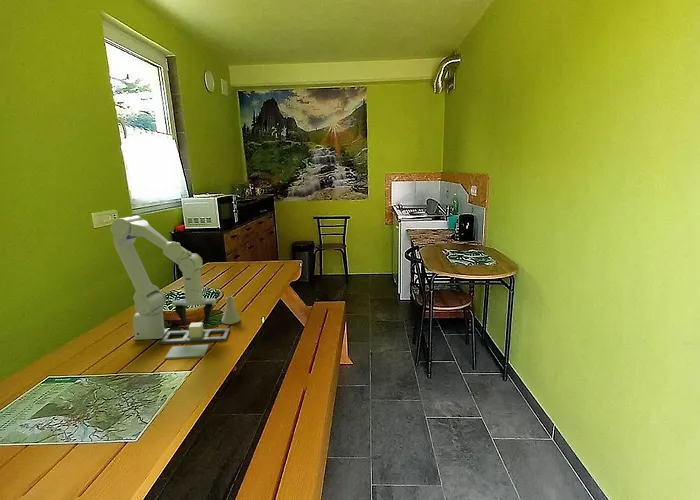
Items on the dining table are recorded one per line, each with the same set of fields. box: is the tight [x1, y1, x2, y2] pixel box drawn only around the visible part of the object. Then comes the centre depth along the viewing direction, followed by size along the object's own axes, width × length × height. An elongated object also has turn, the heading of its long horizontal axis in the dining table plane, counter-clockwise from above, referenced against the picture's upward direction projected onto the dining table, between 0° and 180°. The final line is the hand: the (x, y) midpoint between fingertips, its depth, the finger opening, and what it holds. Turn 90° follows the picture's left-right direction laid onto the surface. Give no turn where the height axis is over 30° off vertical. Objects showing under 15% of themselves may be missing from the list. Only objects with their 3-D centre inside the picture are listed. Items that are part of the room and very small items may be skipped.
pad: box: [164, 344, 210, 360], centre depth 125 cm, size 12×8×1 cm, turn 99°
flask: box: [220, 296, 242, 325], centre depth 151 cm, size 7×7×10 cm
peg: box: [188, 321, 204, 338], centre depth 136 cm, size 4×4×5 cm
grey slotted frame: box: [159, 327, 231, 345], centre depth 137 cm, size 22×9×1 cm, turn 99°
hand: (196, 324), depth 136 cm, fingers open, 7 cm apart
